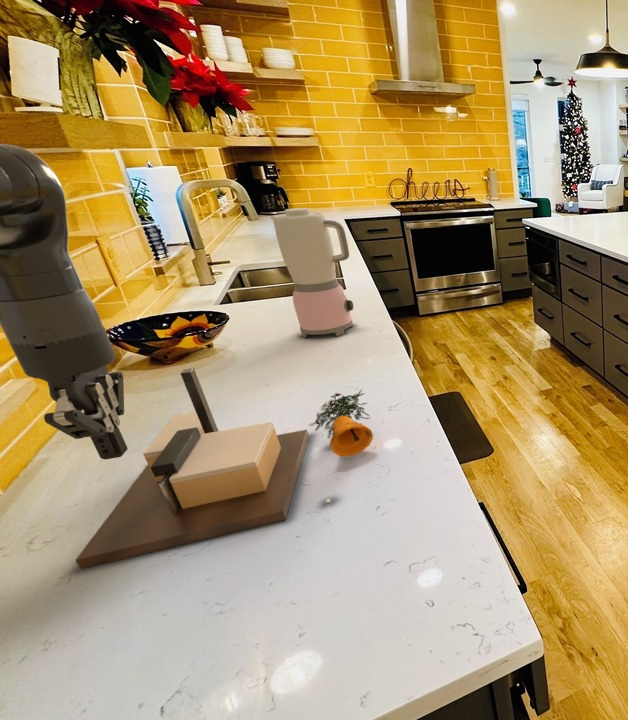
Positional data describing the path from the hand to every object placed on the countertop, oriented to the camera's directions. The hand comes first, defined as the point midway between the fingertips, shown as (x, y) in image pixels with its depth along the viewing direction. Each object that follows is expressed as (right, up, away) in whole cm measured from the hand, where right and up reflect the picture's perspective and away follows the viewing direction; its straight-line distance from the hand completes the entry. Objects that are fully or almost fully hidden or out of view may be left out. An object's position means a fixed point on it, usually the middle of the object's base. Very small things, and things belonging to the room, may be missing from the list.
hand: (115, 455), depth 65 cm
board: (+6, -7, +9) cm, 13 cm away
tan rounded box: (+8, -5, +10) cm, 13 cm away
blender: (-15, +20, +71) cm, 76 cm away
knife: (+3, -6, +8) cm, 10 cm away
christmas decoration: (+21, -4, +17) cm, 27 cm away
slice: (-3, -3, +14) cm, 15 cm away
